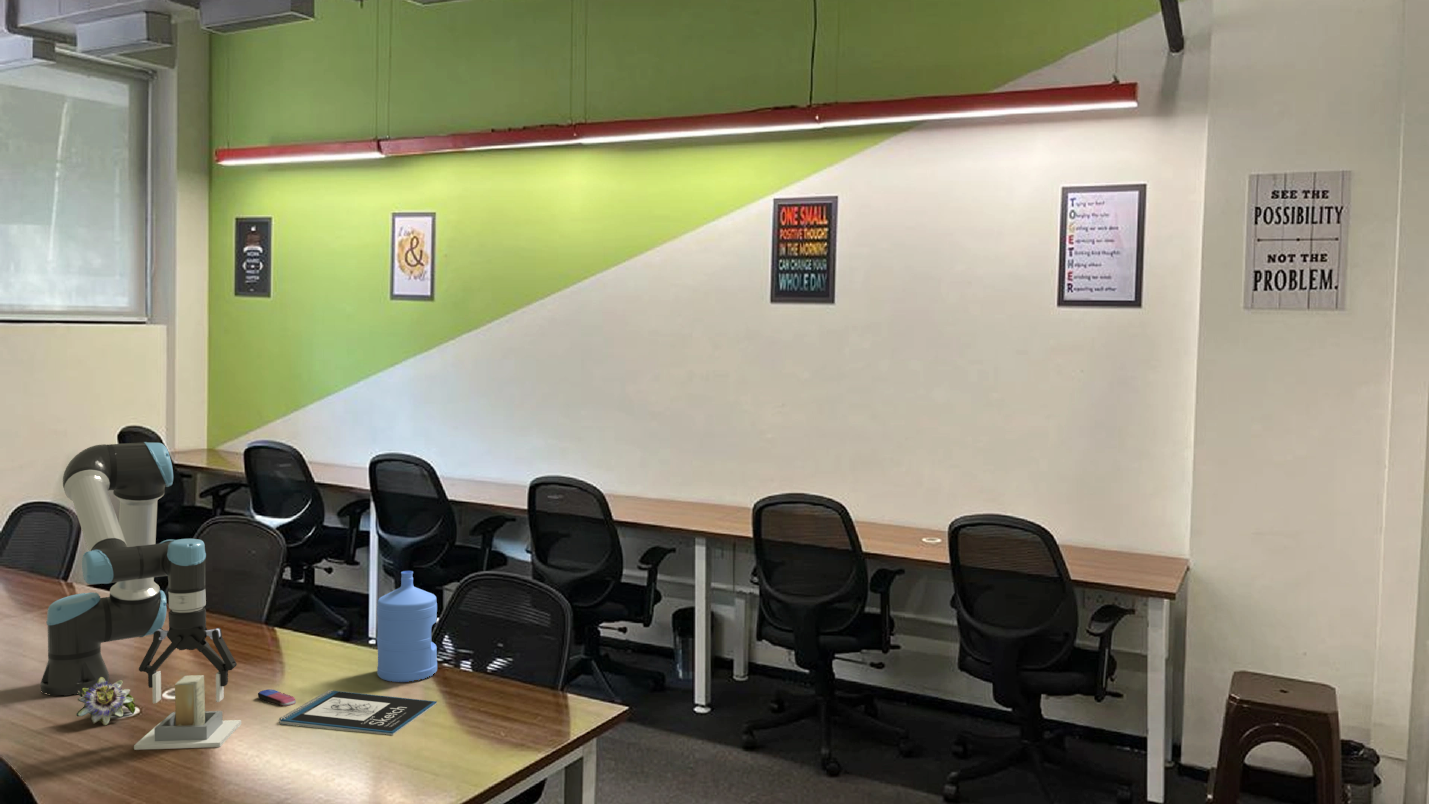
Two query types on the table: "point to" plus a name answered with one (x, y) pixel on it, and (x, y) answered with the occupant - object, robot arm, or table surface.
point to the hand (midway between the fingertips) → (188, 700)
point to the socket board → (189, 733)
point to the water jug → (406, 633)
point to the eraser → (276, 698)
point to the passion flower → (105, 701)
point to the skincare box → (190, 701)
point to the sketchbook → (357, 712)
